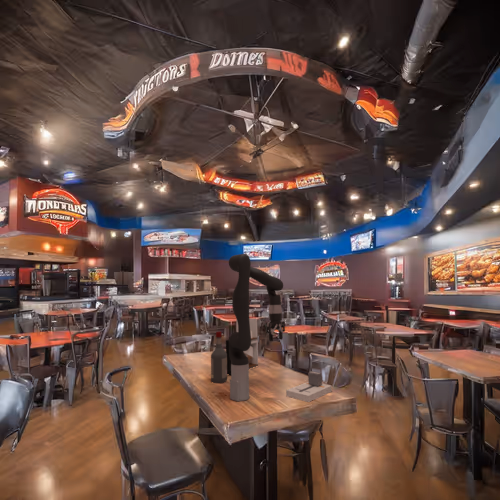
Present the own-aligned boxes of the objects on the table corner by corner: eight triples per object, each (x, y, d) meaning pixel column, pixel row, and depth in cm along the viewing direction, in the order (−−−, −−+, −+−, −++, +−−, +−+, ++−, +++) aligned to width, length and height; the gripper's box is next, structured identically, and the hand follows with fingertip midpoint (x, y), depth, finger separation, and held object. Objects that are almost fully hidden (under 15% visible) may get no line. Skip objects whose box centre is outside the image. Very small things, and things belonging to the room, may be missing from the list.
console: (308, 402, 152) (308, 395, 152) (286, 396, 161) (286, 389, 162) (331, 391, 167) (331, 385, 167) (310, 386, 177) (309, 380, 177)
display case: (237, 367, 225) (236, 319, 230) (246, 365, 234) (245, 318, 239) (249, 369, 219) (248, 319, 224) (258, 366, 227) (256, 318, 232)
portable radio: (232, 372, 213) (232, 335, 217) (239, 373, 210) (238, 335, 213) (224, 374, 207) (224, 336, 211) (231, 375, 204) (230, 337, 207)
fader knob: (318, 386, 165) (317, 374, 166) (308, 384, 170) (308, 372, 170) (322, 384, 168) (321, 372, 169) (312, 382, 172) (312, 371, 173)
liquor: (227, 379, 196) (227, 331, 200) (225, 383, 187) (224, 332, 191) (213, 379, 197) (213, 331, 201) (210, 383, 188) (210, 332, 192)
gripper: (278, 311, 193) (279, 338, 191) (262, 312, 184) (263, 340, 181) (287, 312, 188) (288, 339, 186) (272, 313, 178) (272, 342, 176)
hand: (276, 340), depth 183 cm, fingers open, 8 cm apart
